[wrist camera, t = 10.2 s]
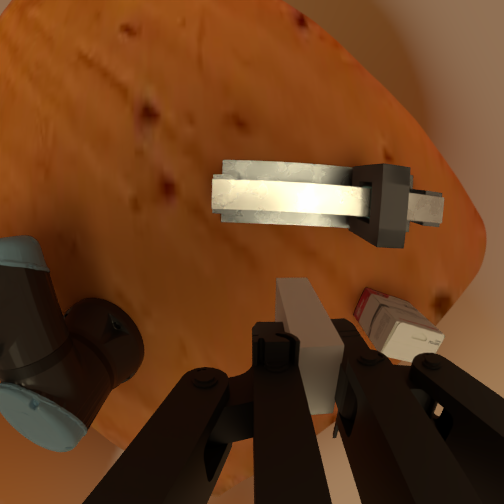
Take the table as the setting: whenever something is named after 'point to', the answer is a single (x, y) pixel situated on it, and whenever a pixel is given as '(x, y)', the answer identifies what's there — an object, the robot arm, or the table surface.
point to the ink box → (396, 326)
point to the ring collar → (383, 204)
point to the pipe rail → (294, 177)
